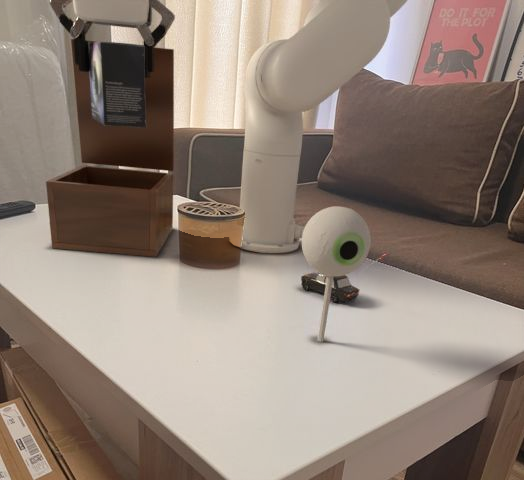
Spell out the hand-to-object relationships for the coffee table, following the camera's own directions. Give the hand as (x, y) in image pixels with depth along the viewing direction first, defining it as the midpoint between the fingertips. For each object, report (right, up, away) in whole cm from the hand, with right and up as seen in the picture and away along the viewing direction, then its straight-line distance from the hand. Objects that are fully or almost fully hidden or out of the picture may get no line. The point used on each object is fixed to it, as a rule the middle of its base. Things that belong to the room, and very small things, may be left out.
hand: (115, 74), depth 76 cm
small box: (-1, -6, +3) cm, 7 cm away
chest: (-3, -21, +14) cm, 25 cm away
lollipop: (+28, -39, -16) cm, 51 cm away
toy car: (+32, -33, -3) cm, 46 cm away
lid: (-2, 0, +12) cm, 12 cm away
